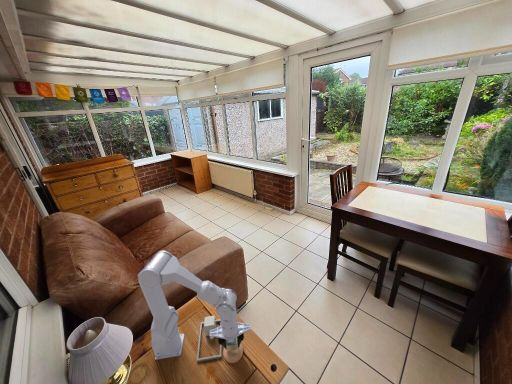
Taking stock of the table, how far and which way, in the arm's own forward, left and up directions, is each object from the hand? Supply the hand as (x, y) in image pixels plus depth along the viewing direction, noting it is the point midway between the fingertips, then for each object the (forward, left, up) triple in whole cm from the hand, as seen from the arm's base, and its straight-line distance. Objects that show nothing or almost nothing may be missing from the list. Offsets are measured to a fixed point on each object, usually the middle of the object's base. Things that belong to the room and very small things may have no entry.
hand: (232, 345), depth 77 cm
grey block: (-9, +10, -4) cm, 14 cm away
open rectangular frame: (-9, +6, -4) cm, 11 cm away
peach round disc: (0, 0, -4) cm, 4 cm away
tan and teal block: (0, 0, -2) cm, 2 cm away
